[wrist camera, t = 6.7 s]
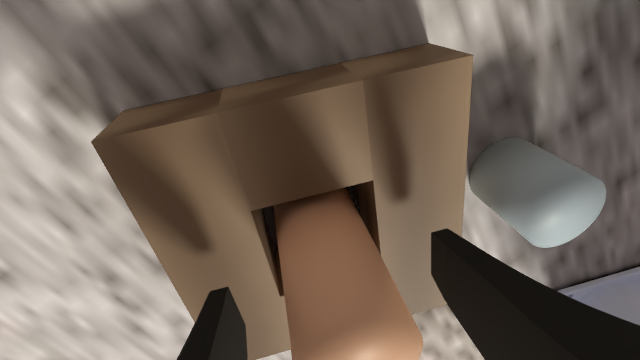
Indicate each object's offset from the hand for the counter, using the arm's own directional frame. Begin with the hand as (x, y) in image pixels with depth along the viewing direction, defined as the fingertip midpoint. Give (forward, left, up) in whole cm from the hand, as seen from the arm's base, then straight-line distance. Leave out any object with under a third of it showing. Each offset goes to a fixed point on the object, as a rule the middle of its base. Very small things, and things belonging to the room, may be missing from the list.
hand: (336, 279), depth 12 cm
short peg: (-10, +1, -5) cm, 11 cm away
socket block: (0, 0, -5) cm, 5 cm away
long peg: (0, 0, -5) cm, 5 cm away
